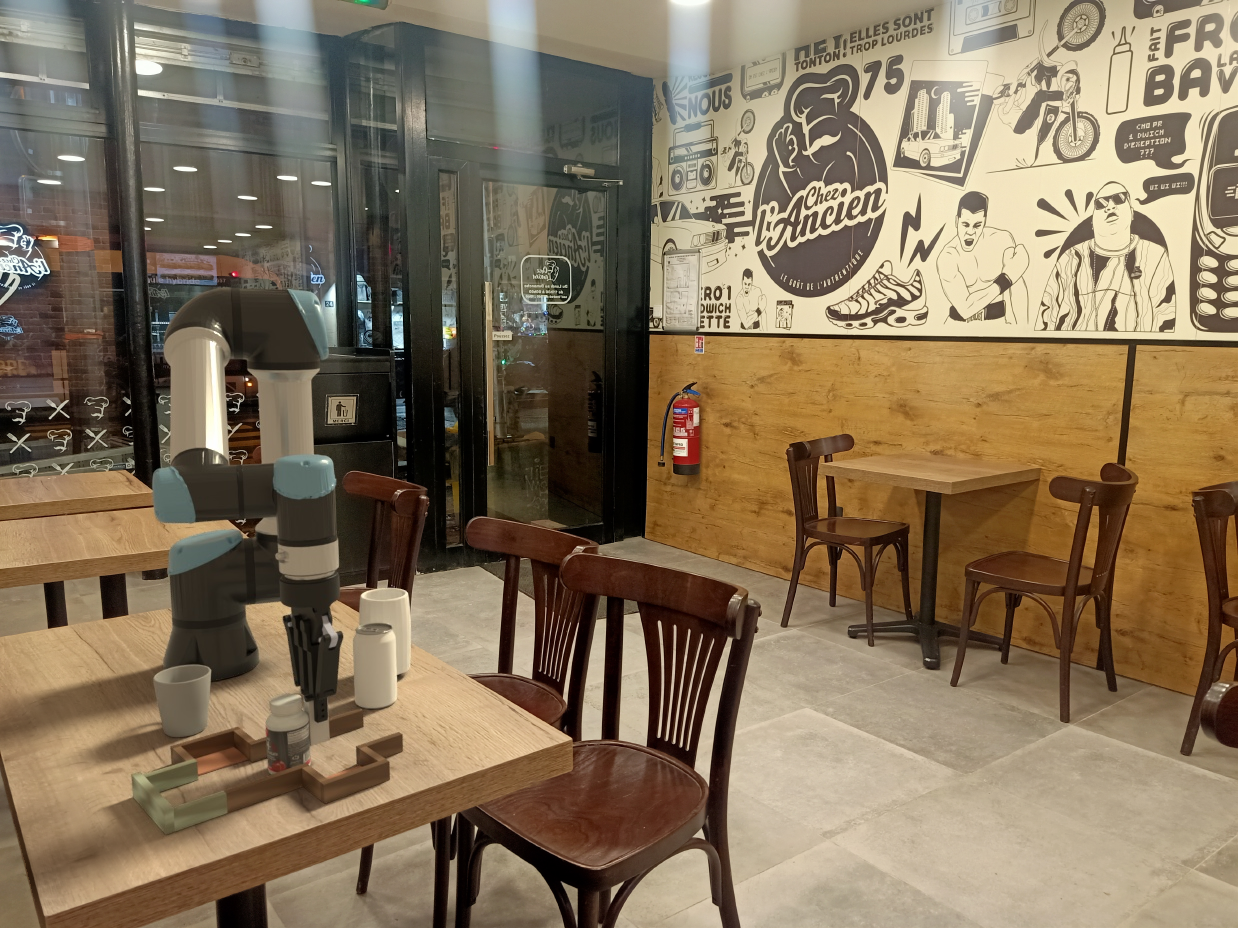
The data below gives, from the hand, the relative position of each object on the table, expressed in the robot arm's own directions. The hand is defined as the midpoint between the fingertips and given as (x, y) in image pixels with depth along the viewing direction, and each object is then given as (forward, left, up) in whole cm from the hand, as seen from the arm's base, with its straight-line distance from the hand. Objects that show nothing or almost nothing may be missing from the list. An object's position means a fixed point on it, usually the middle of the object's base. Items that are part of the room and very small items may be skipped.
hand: (317, 741), depth 123 cm
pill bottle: (0, -4, -3) cm, 5 cm away
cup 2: (-21, +23, -3) cm, 31 cm away
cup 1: (-23, -9, -3) cm, 25 cm away
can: (-12, +16, -3) cm, 20 cm away
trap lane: (0, -5, -3) cm, 6 cm away
